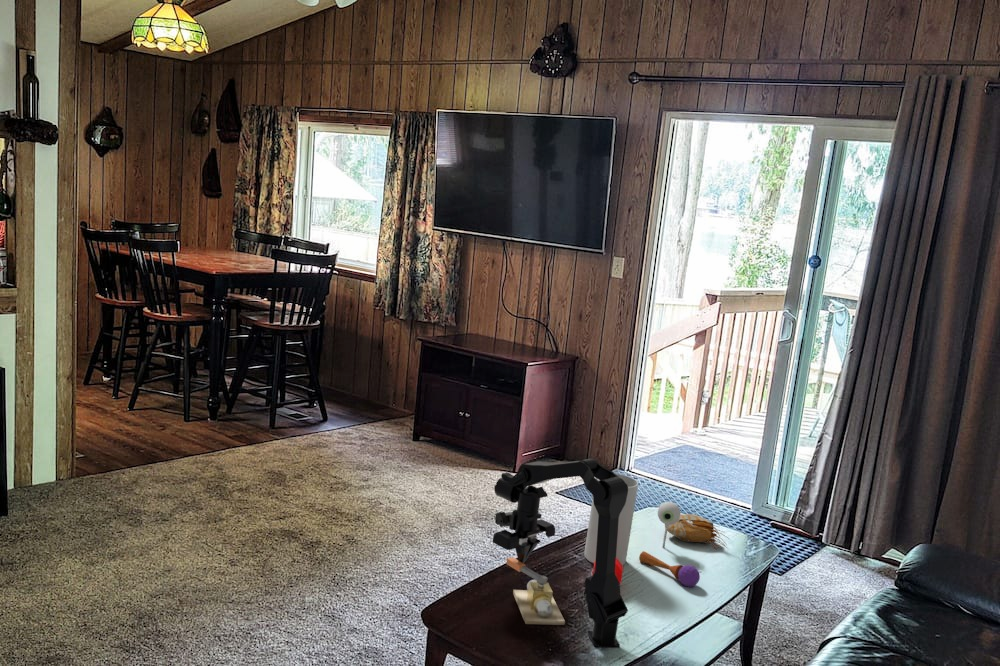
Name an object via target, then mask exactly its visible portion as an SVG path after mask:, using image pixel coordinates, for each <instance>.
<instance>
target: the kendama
mask: <svg viewBox="0 0 1000 666" xmlns="http://www.w3.org/2000/svg"><path fill="white" fill-rule="evenodd" d="M638 561H639V562H640V563H643V564H647V565H650V566H655V567H658V568H661V569H665V570H668V571H670V573H671V574H672V575H673V576H674V578H675V579H677V580H678V581H679V582H680V583H681V584H682V585H683V586H685V587H687V588H693V587H694V586H696V585H697V584H698V583H700V580H701V579H700V577H701V576H700V572H699V570H698V569H697V568H696V566H694V565H692V564H691V565H690V564H687V565H683V564H679V565H678V564H677V565H669V564H668V563H666V562H664V561H662V560H660V559H659V558H657V557H655V556H653V555H652V554H650V553H648V552H646V551H644V550H643V551H642V552H640V554H639V558H638Z"/></svg>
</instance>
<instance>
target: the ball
mask: <svg viewBox="0 0 1000 666" xmlns="http://www.w3.org/2000/svg"><path fill="white" fill-rule="evenodd" d="M592 570H593V571H592V575H591V576H593V574H594V571H595V563H593V569H592ZM623 572H624V566H623V565H622V564H621V563H620V562H619V560H618V559H617V558H616V565H615V574H616V576H617V579H618V581H619V583H620V585H621V584H622V579H623V574H624V573H623Z"/></svg>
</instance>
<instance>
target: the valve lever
mask: <svg viewBox="0 0 1000 666" xmlns="http://www.w3.org/2000/svg"><path fill="white" fill-rule="evenodd" d="M506 565H507V566H509V567H510V568H512V569H514V570H515V571H517V572H519V573H520V572H522V573H524V574H525V575H527V576H528V577H530V578H531V579H532V580H537V583H539V584H543V585H544V584H547V583H548V577H547V576H545V575H542V574H539V573H537V572H535V571H534V570H533V569H530V568H529V567H527V566H526V564H525V563H524V564H523V563H522V562H520V561H518V558H515V557H514V556H513V557H507V559H506Z"/></svg>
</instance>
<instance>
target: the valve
mask: <svg viewBox="0 0 1000 666" xmlns="http://www.w3.org/2000/svg"><path fill="white" fill-rule="evenodd" d="M526 590H527V594H528V596H527V601H528V604H529V606H530V608H531V610H535V612H536V613H538V614H539V616H540V617H541V618H543V619H547V618H549V617H550V616H551V615H552V613H553V610H552V603H551V601H552V596H553V593H554V591H553V590H552V588H551V586H550V583H549V582H547V584H544V585H543V584H539V583H537V580H535V579H531V580H529V581H528V582H527V584H526Z"/></svg>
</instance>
